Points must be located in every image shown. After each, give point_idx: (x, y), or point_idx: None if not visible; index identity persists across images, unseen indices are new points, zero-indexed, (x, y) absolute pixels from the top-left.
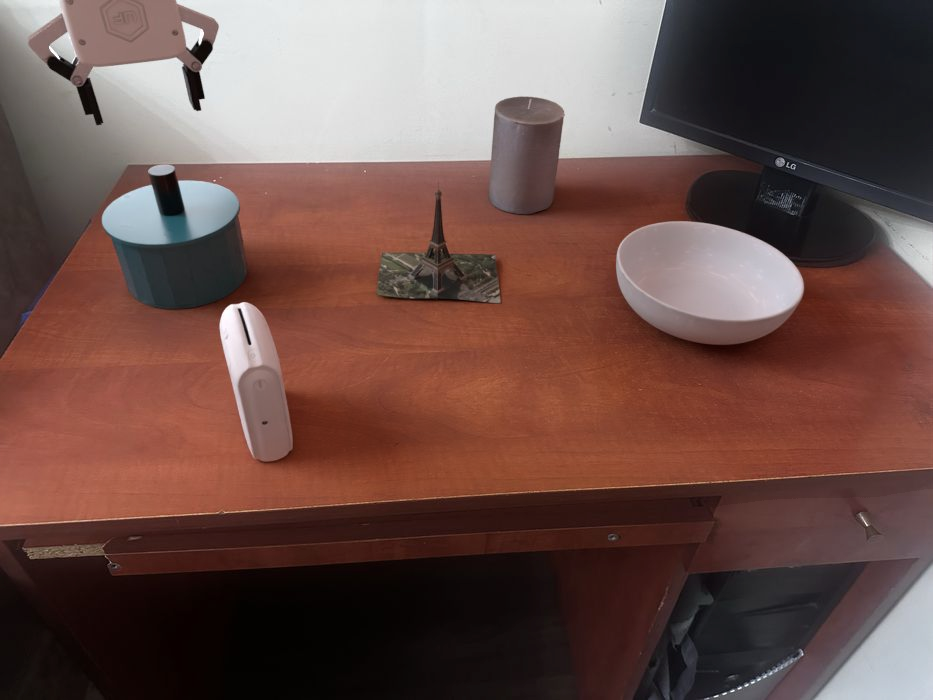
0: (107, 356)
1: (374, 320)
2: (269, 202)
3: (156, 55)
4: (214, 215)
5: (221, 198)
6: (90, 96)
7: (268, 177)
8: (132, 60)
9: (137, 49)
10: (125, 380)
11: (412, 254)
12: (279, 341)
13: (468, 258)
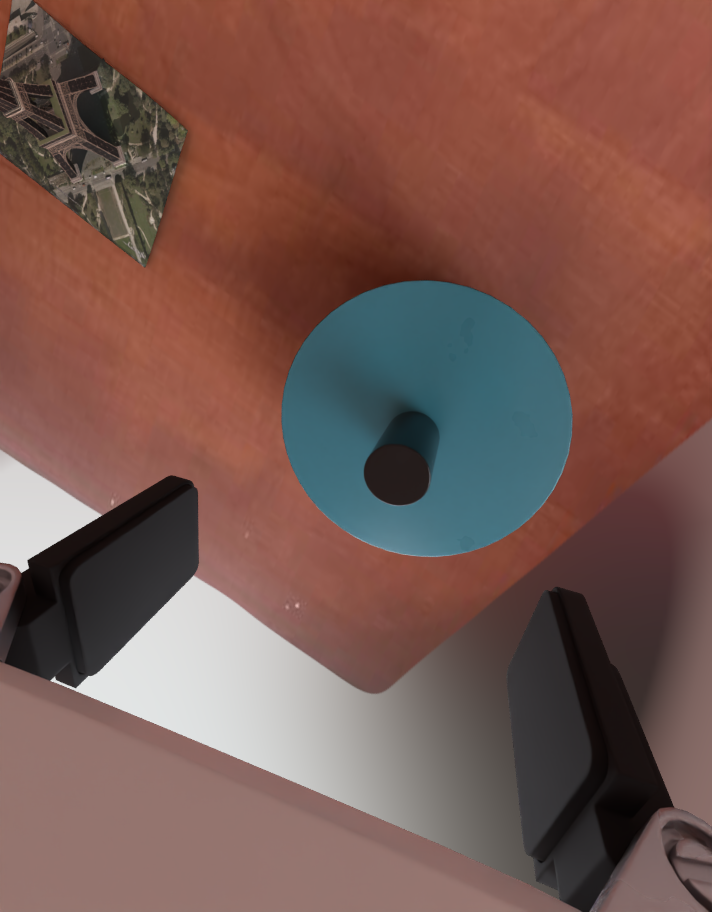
0: (667, 228)
1: (217, 61)
2: (250, 511)
3: (7, 721)
4: (346, 361)
5: (309, 422)
6: (612, 709)
7: (231, 568)
8: (237, 790)
9: (70, 907)
10: (685, 119)
11: (103, 228)
12: (384, 89)
13: (28, 160)
